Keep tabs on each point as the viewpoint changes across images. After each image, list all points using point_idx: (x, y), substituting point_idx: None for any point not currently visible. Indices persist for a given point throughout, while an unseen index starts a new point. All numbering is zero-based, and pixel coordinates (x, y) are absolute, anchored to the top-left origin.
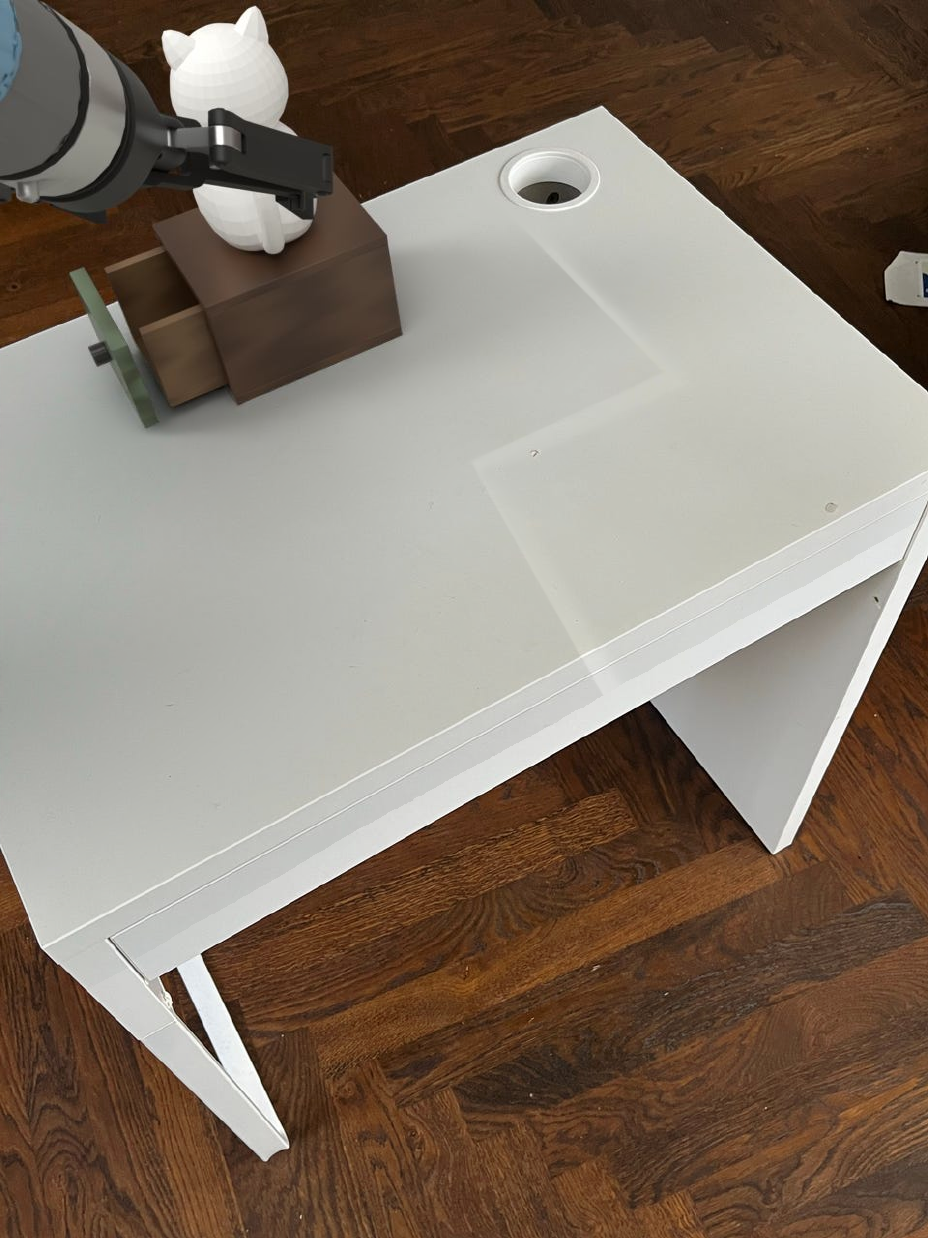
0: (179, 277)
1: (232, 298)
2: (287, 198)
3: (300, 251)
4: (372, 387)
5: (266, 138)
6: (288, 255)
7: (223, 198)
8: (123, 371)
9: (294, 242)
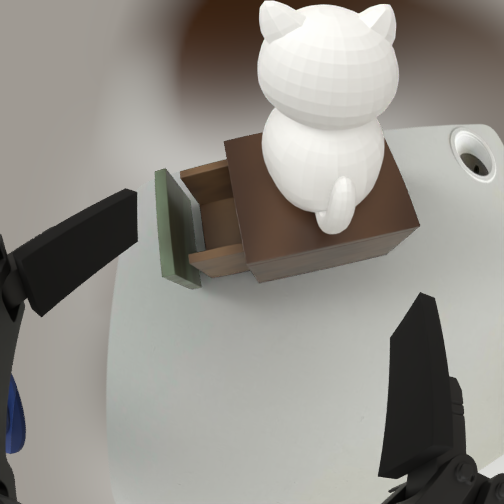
0: None
1: (273, 258)
2: (398, 477)
3: None
4: (356, 300)
5: None
6: None
7: (290, 174)
8: (173, 280)
9: None
